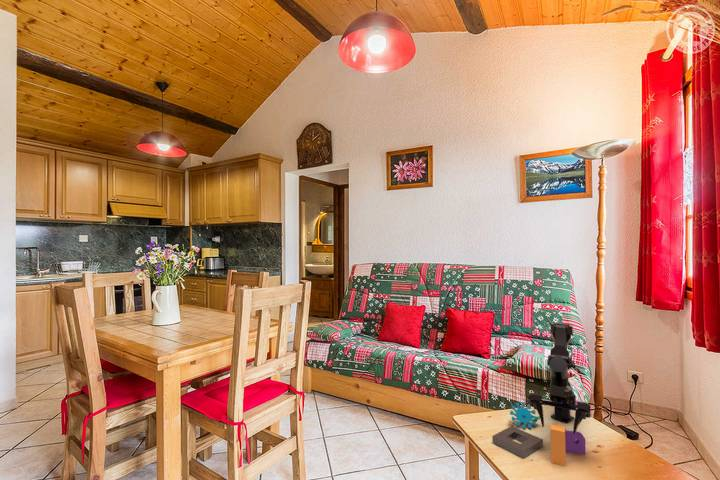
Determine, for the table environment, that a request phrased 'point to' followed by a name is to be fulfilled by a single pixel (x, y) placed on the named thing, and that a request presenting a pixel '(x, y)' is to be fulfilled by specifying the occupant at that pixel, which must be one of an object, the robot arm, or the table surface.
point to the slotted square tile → (521, 450)
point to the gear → (524, 415)
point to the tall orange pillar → (558, 444)
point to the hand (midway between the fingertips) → (558, 430)
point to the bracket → (575, 442)
